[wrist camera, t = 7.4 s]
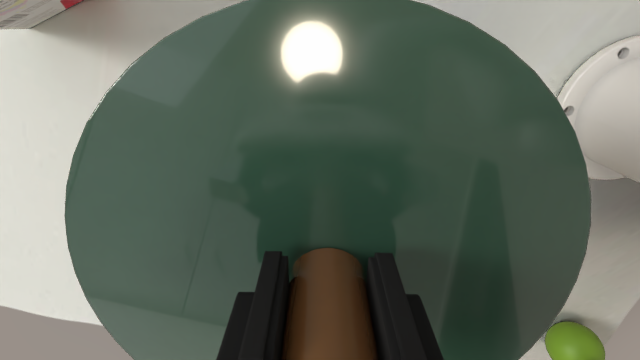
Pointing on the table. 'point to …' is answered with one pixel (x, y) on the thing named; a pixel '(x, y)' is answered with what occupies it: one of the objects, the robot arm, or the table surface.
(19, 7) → the ink box
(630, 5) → the table surface
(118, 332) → the crock lid
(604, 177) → the robot arm
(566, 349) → the snail figurine
